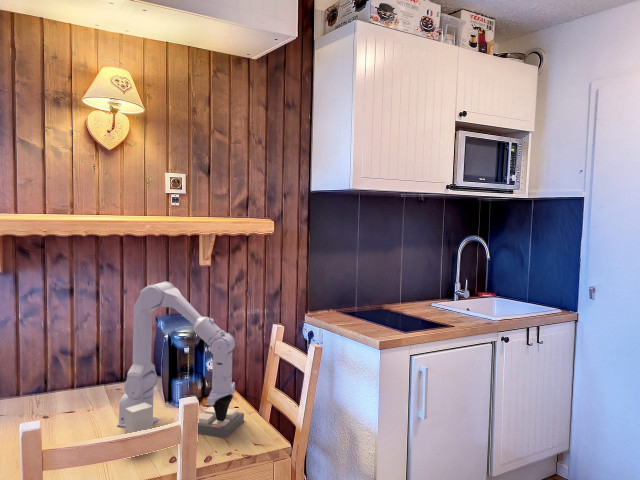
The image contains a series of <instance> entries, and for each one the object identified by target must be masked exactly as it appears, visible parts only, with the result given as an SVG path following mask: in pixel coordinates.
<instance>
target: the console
mask: <svg viewBox="0 0 640 480" xmlns="http://www.w3.org/2000/svg"><path fill="white" fill-rule="evenodd" d="M202 413H204V411H203V412H202ZM244 419H245V413H244V412H239V411H238V415H237V416H236V417H235V418H234V419H233V420H230V419H227V420H230V423H229V424H227V425H226V426H225V427H222V426H217V425H212V423H213V422H214V421H215V420H217V418H216V417H214V420H213V421H212V422H211V423H209V424H201V423H198V433H197V434H200V435H206V436H207V435H208V436H212V437H213V436H214V437H221V438H228V437H229V436H230V435H231V434H232V433H233V432H234V431H235V430H236V429H237V428H238V427H240V425H241V424H242V423H243V422H244V421H245V420H244Z"/></svg>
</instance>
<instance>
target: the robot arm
mask: <svg viewBox="0 0 640 480" xmlns="http://www.w3.org/2000/svg"><path fill="white" fill-rule="evenodd" d="M159 307H162V308H171V309H174V310H175V311H177V312H178V313H179V314H180V315H181V316H182V317H184V318H185V319H186V320H187V321H188V322H190V323H191V324H192V326H193V332H195V334H196V335H198V337H200V338H201V339H202V340H203V342H205V344H207V345H208V346H209V350H210V353H211V355H212V379H211V381H212V383H211V384H212V385H211V387H212V388H211V389H210V392H209V395H208V396H207V399H206V400H207V401H206V404H207V405H208V406H212V407H214V410H215V414H216V418H217V421H224V420H225V418H226V414H227V410H228V409H229V406H230V404H231V402H232V400H233V398H234V394H235V393H236V390H235V389H236V383H235V382H234V381H233V380H232V379H233V349H235V346H236V339H235V338H234V336H233V335H232V334H231V333H229V332H226V331H225V330H224V329H221V328H220V327H219V326H218V325H217V324H216V323H215V319H214V318H212V317H211V318H210V317H209V316H202V315H201V314H200V313H199V312H198V311H197V310H196V308H195V307H193V306H192V304H190V302H189V301H188V300H187V299H186V298H185V297H184V296H183V295H182V293H181V292H180V290H179V289H178V288H177V287H175V286H174V285H173V284H172V283H171V282H169V281H162V282H159V283H156V284H148V285H147V286H145V287H144V288H142V289H141V290H140V291H139V296H138V298H137V300H136V302H135V303H134V305H133V314H132V317H133V319H132V364H131V366H130V368H129V370H128V372H127V374H126V380H125V382H124V385H123V390H124V394H123V395H122V397H121V398H120V400H119V404H118V408H119V409H118V422H117V426H119V427H122V428H123V427H124V428H125V408H128V407H132V406H135V405H138V404H141V403H144V402H145V403H147V404H149V405H151V406H153V407H154V389H155V388H154V387H156V385H157V384H158V380H159V379H158V375H157V372H156V366H155V364H153V363H152V350H153V349H152V344H153V343H152V342H153V341H152V340H153V313H154V311H155V310H157V309H158V308H159ZM159 420H160V418H158V417H155V416H153V424H155V423H156V422H158V421H159Z"/></svg>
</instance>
